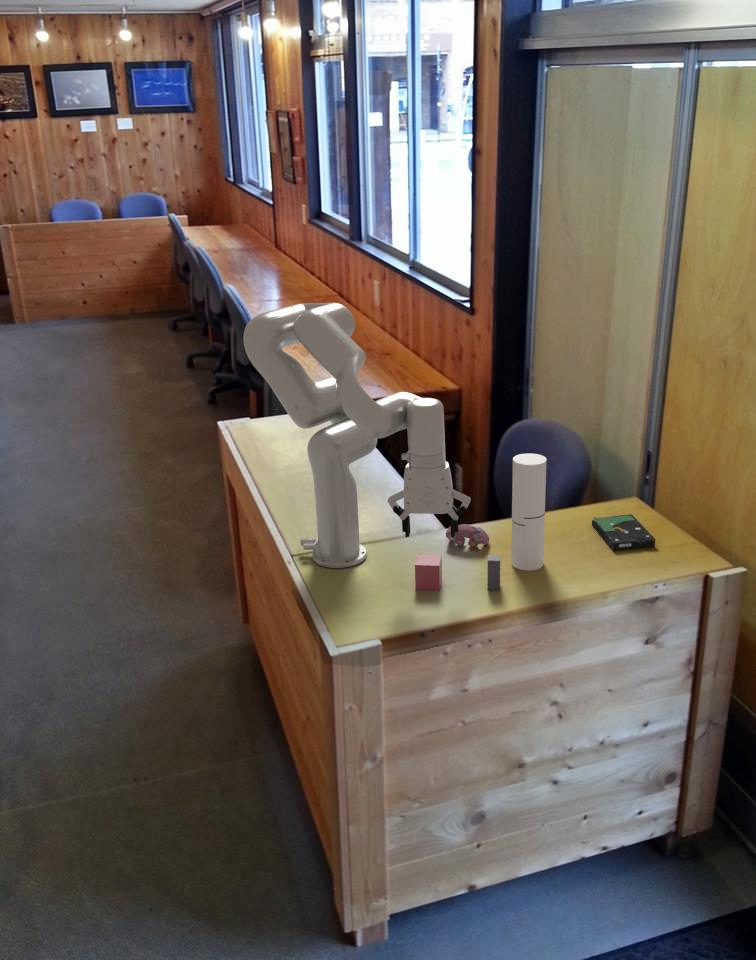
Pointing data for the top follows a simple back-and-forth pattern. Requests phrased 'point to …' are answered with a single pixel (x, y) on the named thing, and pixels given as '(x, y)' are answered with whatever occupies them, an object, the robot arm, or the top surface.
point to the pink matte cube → (428, 572)
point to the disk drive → (623, 533)
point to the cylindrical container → (528, 511)
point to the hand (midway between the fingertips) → (430, 535)
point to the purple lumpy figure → (468, 535)
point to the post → (494, 572)
